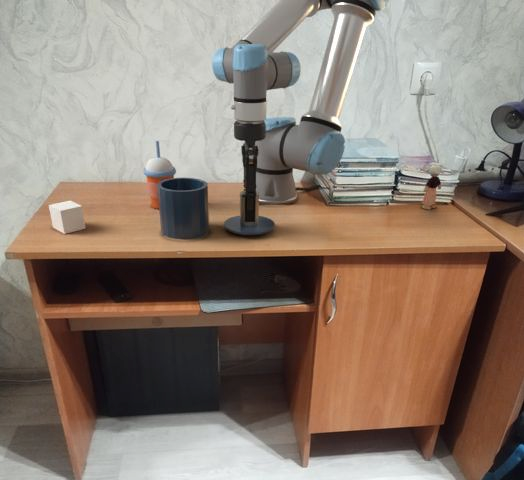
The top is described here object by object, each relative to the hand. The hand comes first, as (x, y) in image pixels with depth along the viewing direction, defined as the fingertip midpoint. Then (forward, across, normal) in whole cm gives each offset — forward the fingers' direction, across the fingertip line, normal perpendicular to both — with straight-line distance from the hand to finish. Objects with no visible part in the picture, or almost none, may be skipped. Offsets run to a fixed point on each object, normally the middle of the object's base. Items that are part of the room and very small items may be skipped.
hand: (249, 217), depth 134 cm
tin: (+4, 0, -17) cm, 17 cm away
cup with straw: (+4, -21, -24) cm, 33 cm away
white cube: (+4, -3, -47) cm, 47 cm away
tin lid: (+2, 0, 0) cm, 2 cm away
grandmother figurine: (+5, -21, +55) cm, 59 cm away
